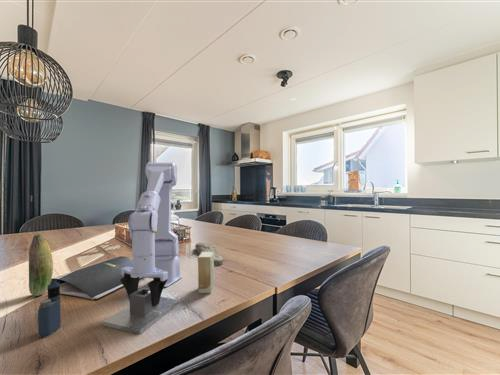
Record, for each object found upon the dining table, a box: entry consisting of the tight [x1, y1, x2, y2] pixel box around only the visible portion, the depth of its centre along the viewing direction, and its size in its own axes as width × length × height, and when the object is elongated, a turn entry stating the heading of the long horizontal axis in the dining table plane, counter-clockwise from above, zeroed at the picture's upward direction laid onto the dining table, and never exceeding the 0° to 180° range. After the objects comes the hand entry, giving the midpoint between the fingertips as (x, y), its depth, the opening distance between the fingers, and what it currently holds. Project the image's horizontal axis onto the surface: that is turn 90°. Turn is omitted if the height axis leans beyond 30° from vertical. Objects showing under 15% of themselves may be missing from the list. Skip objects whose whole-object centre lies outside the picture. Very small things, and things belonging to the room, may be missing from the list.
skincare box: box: [197, 252, 215, 294], centre depth 83 cm, size 6×4×12 cm
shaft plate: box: [102, 296, 181, 335], centre depth 68 cm, size 16×12×4 cm
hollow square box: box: [129, 286, 157, 316], centre depth 67 cm, size 5×5×5 cm
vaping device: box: [37, 279, 62, 338], centre depth 59 cm, size 3×5×12 cm, turn 2°
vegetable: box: [28, 234, 54, 297], centre depth 80 cm, size 6×6×20 cm
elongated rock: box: [194, 242, 224, 267], centre depth 123 cm, size 35×5×10 cm
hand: (144, 302), depth 68 cm, fingers open, 7 cm apart
